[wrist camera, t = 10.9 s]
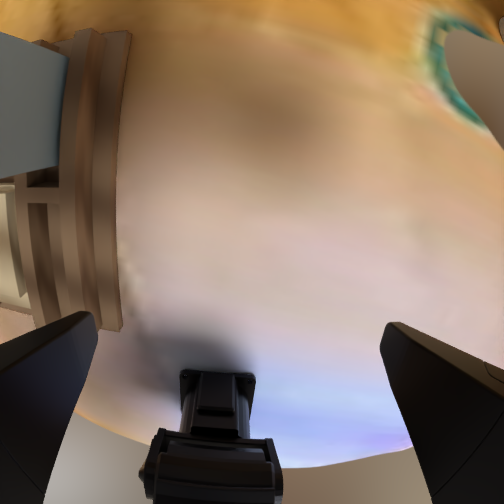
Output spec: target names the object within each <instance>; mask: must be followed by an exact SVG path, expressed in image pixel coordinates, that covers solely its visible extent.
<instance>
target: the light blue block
mask: <svg viewBox="0 0 504 504" xmlns="http://www.w3.org/2000/svg"><path fill="white" fill-rule="evenodd" d="M69 59H70V58H68V57H66V56H64V55H61V54H59V53H56V52H54V51H51V50H49V49H46V48H44V47H41V46H39V45H36V44H33V43H31V42H28V41H25V40H22V39H20V38H17V37H14V36H11V35H8V34H5V33H2V32H0V179H1V178H5V177H9V176H13V175H17V174H21V173H25V172H30V171H34V170H39V169H43V168H48V167H53V166H58V165H59V151H60V132H61V119H62V108H63V99H64V91H65V84H66V77H67V71H68V65H69Z"/></svg>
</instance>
